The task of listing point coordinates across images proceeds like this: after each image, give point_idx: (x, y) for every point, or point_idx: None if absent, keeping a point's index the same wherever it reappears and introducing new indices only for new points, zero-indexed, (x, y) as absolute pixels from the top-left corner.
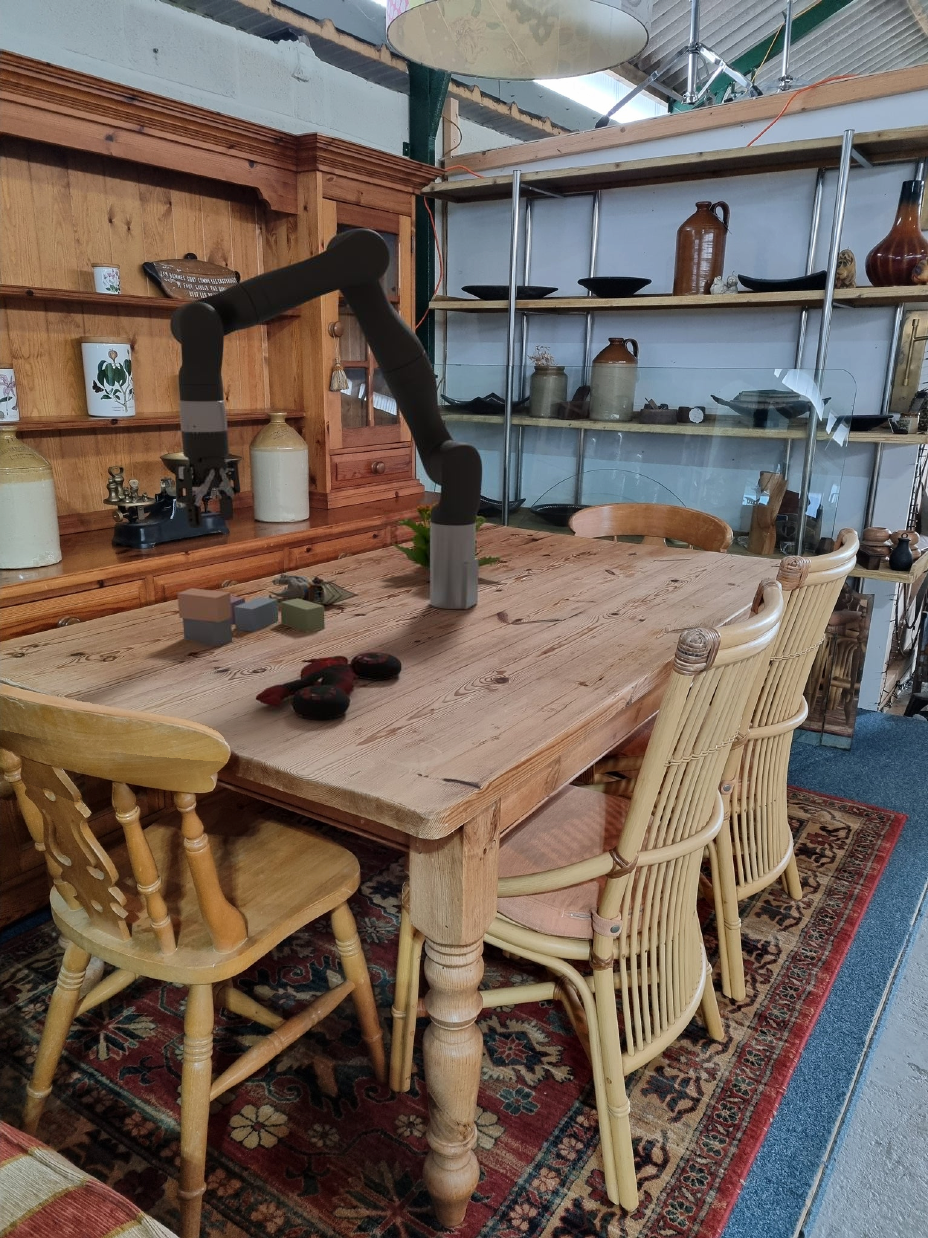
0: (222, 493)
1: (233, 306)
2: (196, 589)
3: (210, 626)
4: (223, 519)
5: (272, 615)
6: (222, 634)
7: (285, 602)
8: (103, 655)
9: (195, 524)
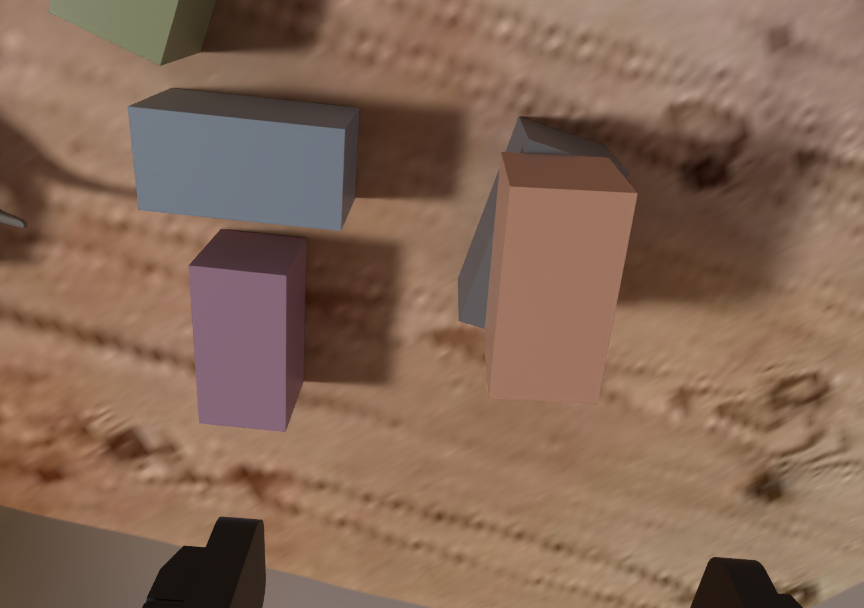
0: None
1: None
2: (503, 368)
3: None
4: (263, 574)
5: (203, 99)
6: (570, 141)
7: (154, 34)
8: (767, 424)
9: (794, 599)
